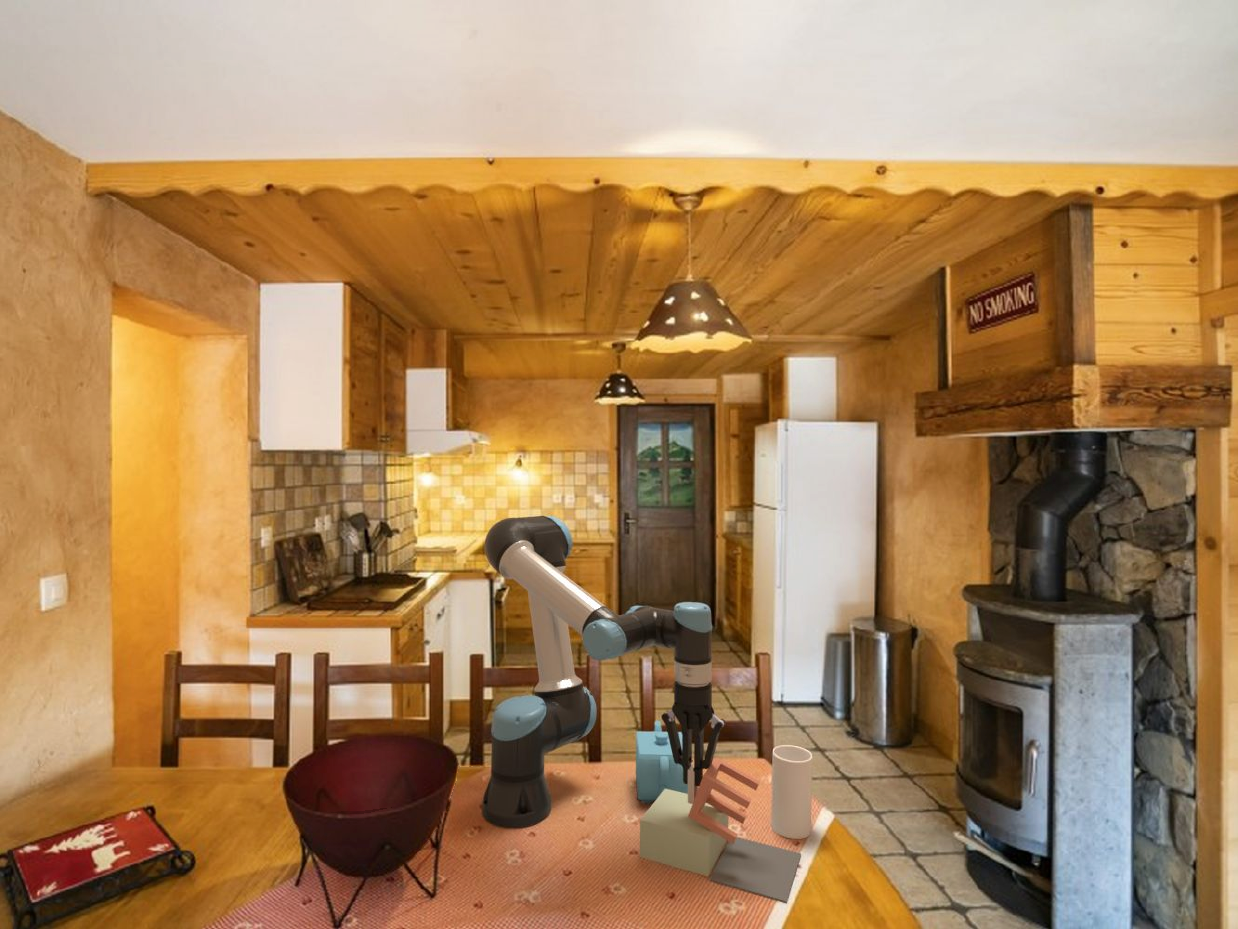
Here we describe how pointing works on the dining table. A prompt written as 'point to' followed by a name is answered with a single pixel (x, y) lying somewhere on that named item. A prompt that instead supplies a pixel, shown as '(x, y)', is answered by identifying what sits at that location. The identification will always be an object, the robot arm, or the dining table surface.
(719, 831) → the stool
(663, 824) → the step block
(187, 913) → the dining table surface
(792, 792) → the cup
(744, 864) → the mat
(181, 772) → the dining table surface
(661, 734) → the teapot
